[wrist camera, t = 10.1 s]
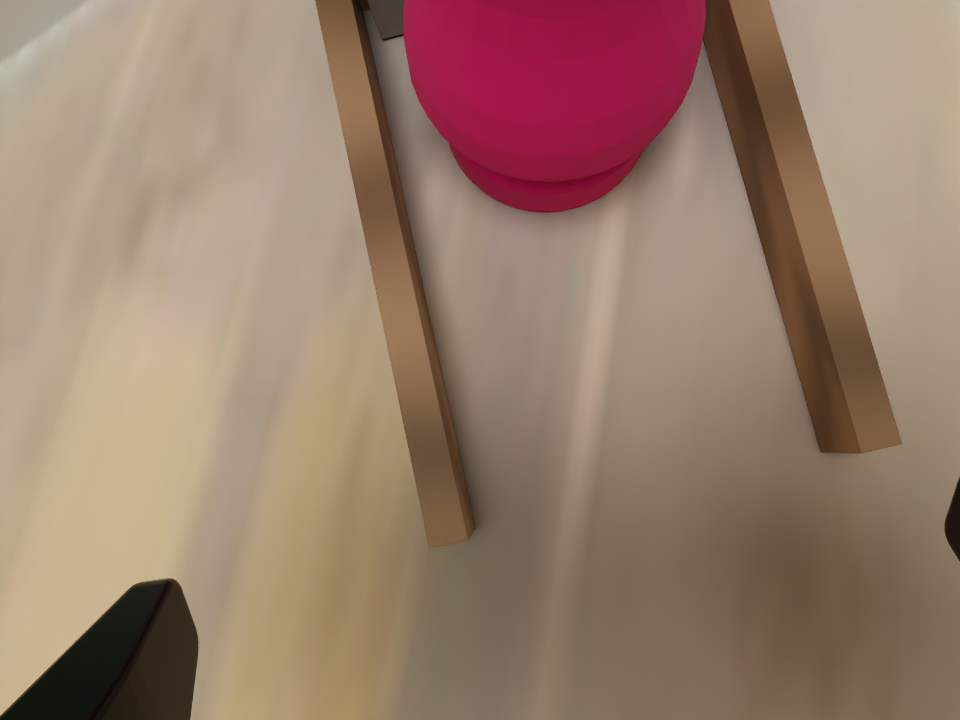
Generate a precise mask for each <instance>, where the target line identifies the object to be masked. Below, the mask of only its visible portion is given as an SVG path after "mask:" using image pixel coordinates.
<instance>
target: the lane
mask: <svg viewBox="0 0 960 720" xmlns="http://www.w3.org/2000/svg"><path fill="white" fill-rule="evenodd" d="M315 1H316V6H317V10H318V15H319V20H320V25H321V30H322V34H323V39H324V44H325V49H326V54H327V58H328V63H329V68H330V73H331V78H332V82H333V87H334V92H335V97H336V102H337V106H338V111H339V116H340V121H341V126H342V130H343V135H344V140H345V145H346V150H347V154H348V159H349V164H350V169H351V174H352V178H353V183H354V188H355V193H356V198H357V202H358V207H359V212H360V217H361V222H362V226H363V231H364V236H365V241H366V246H367V250H368V255H369V260H370V265H371V270H372V274H373V279H374V284H375V289H376V294H377V298H378V303H379V308H380V313H381V318H382V322H383V327H384V332H385V337H386V342H387V346H388V351H389V356H390V361H391V366H392V370H393V375H394V380H395V385H396V390H397V394H398V399H399V404H400V409H401V414H402V418H403V423H404V428H405V433H406V438H407V442H408V447H409V452H410V457H411V462H412V466H413V471H414V476H415V481H416V486H417V490H418V495H419V500H420V505H421V510H422V514H423V519H424V524H425V529H426V534H427V538H428V543H429V548H433V547H437V546H442V545H446V544H451V543H455V542H460V541H464V540H468V539H469V537H470V536H471V534H472V533H473V531H474V530H475V529H476V528H475V523H474V519H473V514H472V510H471V505H470V500H469V496H468V491H467V487H466V482H465V477H464V473H463V468H462V464H461V459H460V454H459V450H458V445H457V441H456V436H455V431H454V427H453V422H452V418H451V413H450V408H449V404H448V399H447V395H446V390H445V385H444V381H443V376H442V372H441V367H440V362H439V358H438V353H437V349H436V344H435V339H434V335H433V330H432V326H431V321H430V316H429V312H428V307H427V303H426V298H425V293H424V289H423V284H422V280H421V275H420V271H419V266H418V261H417V257H416V252H415V248H414V243H413V238H412V234H411V229H410V225H409V220H408V215H407V211H406V206H405V202H404V197H403V192H402V188H401V183H400V179H399V174H398V169H397V165H396V160H395V156H394V151H393V146H392V142H391V137H390V133H389V128H388V123H387V119H386V114H385V110H384V105H383V100H382V96H381V91H380V87H379V82H378V77H377V73H376V68H375V64H374V59H373V54H372V50H371V45H370V41H369V36H368V32H367V27H366V22H365V18H364V13H363V11H364V10H368V9H370V6H369V3H368V1H367V0H315ZM705 5H706V19H705V26H704V32H703V40H704V43H705V47H706V50H707V54H708V57H709V61H710V64H711V68H712V71H713V75H714V78H715V82H716V85H717V89H718V92H719V96H720V99H721V103H722V106H723V110H724V113H725V117H726V120H727V124H728V127H729V131H730V134H731V138H732V141H733V145H734V148H735V152H736V155H737V159H738V162H739V166H740V169H741V173H742V176H743V180H744V183H745V187H746V190H747V194H748V197H749V201H750V204H751V208H752V211H753V215H754V218H755V222H756V225H757V229H758V232H759V236H760V239H761V243H762V247H763V250H764V254H765V257H766V261H767V264H768V268H769V271H770V275H771V278H772V282H773V285H774V289H775V292H776V296H777V299H778V303H779V306H780V310H781V313H782V317H783V320H784V324H785V327H786V331H787V334H788V338H789V341H790V345H791V348H792V352H793V355H794V359H795V362H796V366H797V369H798V373H799V376H800V380H801V383H802V387H803V390H804V394H805V397H806V401H807V404H808V408H809V411H810V415H811V418H812V422H813V425H814V429H815V432H816V436H817V439H818V443H819V446H820V450H821V452H840V453H864V452H868V451H873V450H878V449H882V448H887V447H891V446H896V445H900V444H902V442H901V439H900V436H899V432H898V429H897V426H896V422H895V419H894V416H893V412H892V409H891V406H890V402H889V399H888V396H887V392H886V389H885V386H884V382H883V379H882V376H881V372H880V369H879V366H878V362H877V359H876V356H875V352H874V349H873V346H872V342H871V339H870V336H869V332H868V329H867V326H866V323H865V319H864V316H863V313H862V309H861V306H860V303H859V299H858V296H857V293H856V289H855V286H854V283H853V279H852V276H851V273H850V269H849V266H848V263H847V259H846V256H845V253H844V249H843V246H842V243H841V239H840V236H839V233H838V229H837V226H836V223H835V219H834V216H833V213H832V209H831V206H830V203H829V199H828V196H827V193H826V189H825V186H824V183H823V179H822V176H821V173H820V169H819V166H818V163H817V160H816V156H815V153H814V150H813V146H812V143H811V140H810V136H809V133H808V130H807V126H806V123H805V120H804V116H803V113H802V110H801V106H800V103H799V100H798V96H797V93H796V90H795V86H794V83H793V80H792V76H791V73H790V70H789V66H788V63H787V60H786V56H785V53H784V50H783V46H782V43H781V40H780V36H779V33H778V30H777V26H776V23H775V20H774V16H773V13H772V10H771V6H770V3H769V0H705Z"/></svg>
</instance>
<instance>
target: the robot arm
mask: <svg viewBox="0 0 960 720" xmlns="http://www.w3.org/2000/svg"><path fill="white" fill-rule="evenodd" d="M945 535H946V538H947V541H948V543H949V545H950V547H951V548H952V550H953V551H954V553H955V555H956V556H957V558H958V559H959V561H960V478H959V480H958V483H957V486H956V489H955V492H954V495H953V498H952V501H951V504H950V507H949V510H948V514H947V517H946V520H945ZM197 659H198V635H197V631H196V627H195V625H194V622H193V619H192V616H191V613H190V611H189V608H188V605H187V602H186V599H185V597H184V594H183V591H182V588H181V586H180V584H179V583H178V582H177V581H176V580H174V579H170V578H168V579H160V580H153V581H146V582H140V583H137V584H135V585H133V586H132V587H131V588H130V589H128V590H127V591H126V592H125V593H124V594H123V595H122V596H121V597H120V598H119V599H118V600H117V601H116V602H115V603H114V604H113V605H112V606H111V607H110V608H109V609H108V610H107V611H106V612H105V613H104V614H103V615H102V616H101V617H100V618H99V619H98V620H97V621H96V622H95V623H94V624H93V625H92V626H91V627H90V628H89V629H88V630H87V631H86V632H85V633H84V634H83V635H82V636H81V637H80V638H79V639H78V640H77V641H76V642H75V643H74V644H73V645H72V646H71V647H70V648H69V649H68V650H67V651H66V652H65V653H64V654H63V655H62V656H61V657H60V658H58V659H57V660H56V661H55V662H54V663H53V664H52V665H51V666H50V667H49V668H48V669H47V670H46V671H45V672H44V673H43V674H42V675H41V676H40V677H39V678H38V679H37V680H36V681H35V682H34V683H33V684H32V685H31V686H30V687H29V688H28V689H27V690H26V691H25V692H24V693H23V694H22V695H21V696H20V697H19V698H18V699H17V700H16V701H15V702H14V703H13V704H12V705H11V706H10V707H9V708H8V709H7V710H6V711H5V712H4V713H3V714H2V715H1V716H0V720H190V717H191V709H192V701H193V692H194V684H195V675H196V667H197Z"/></svg>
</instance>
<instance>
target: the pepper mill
mask: <svg viewBox="0 0 960 720" xmlns="http://www.w3.org/2000/svg"><path fill="white" fill-rule="evenodd" d="M403 17H404V41H405V47H406V54H407V59H408V65H409V70H410V75H411V80H412V84H413V86H414V89H415V91H416V94H417V97H418V99H419V102H420V103H421V105H422V107H423V109H424V110H425V112H426V114H427V116H428V117H429V119H430V120H431V121H432V123H433V124H434V125H435V127H436V128H437V129H438V131H439V132H440V133H441V135H442V136H443V137H444V138H445V139H446V140H447V141H448V142H449V145H450V148H451V150H452V153H453V155H454V157H455V159H456V161H457V163H458V164H459V166H460V168H461V169H462V170H463V172H464V173H465V174H466V175H467V177H468V178H469V179H470V180H471V181H472V182H473V183H474V184H476V185H477V186H478V187H479V188H480V189H481V190H482V191H484V192H485V193H486V194H488V195H489V196H491V197H492V198H494V199H496V200H498V201H500V202H502V203H504V204H507V205H510V206H513V207H516V208H519V209H524V210H530V211H540V212H550V211H562V210H566V209H570V208H574V207H578V206H582V205H584V204H586V203H589V202H591V201H593V200H595V199H597V198H600V197H601V196H603V195H604V194H606V193H607V192H609V191H610V190H612V189H613V188H614V187H615V186H616V185H617V184H619V183H620V182H621V181H622V180H623V178H624V177H625V176H626V175H627V174H628V173H629V172H630V171H631V169H632V168H633V166H634V165H635V163H636V162H637V160H638V159H639V157H640V155H641V153H642V151H643V149H644V148H645V147H646V146H647V145H648V144H649V143H650V142H651V141H652V140H653V139H654V138H655V137H656V136H657V135H658V134H659V133H660V132H661V131H662V130H663V128H664V127H665V126H666V125H667V124H668V122H669V121H670V120H671V118H672V117H673V115H674V114H675V112H676V111H677V109H678V108H679V106H680V105H681V104H682V102H683V100H684V97H685V95H686V93H687V91H688V89H689V86H690V84H691V82H692V78H693V75H694V71H695V68H696V64H697V61H698V57H699V54H700V50H701V44H702V38H703V32H704V26H705V19H706V5H705V0H405V2H404V7H403Z"/></svg>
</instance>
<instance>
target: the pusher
mask: <svg viewBox="0 0 960 720" xmlns="http://www.w3.org/2000/svg"><path fill="white" fill-rule="evenodd" d="M367 1H368V3H369V6H370V9H371V11H372V14H373V17H374V19H375V22H376V25H377V28H378V30H379V33H380V36H381V38H382V39H385V38H389V37H393V36H397V35H401V34H404V17H403V7H404V2H405V0H367Z"/></svg>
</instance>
